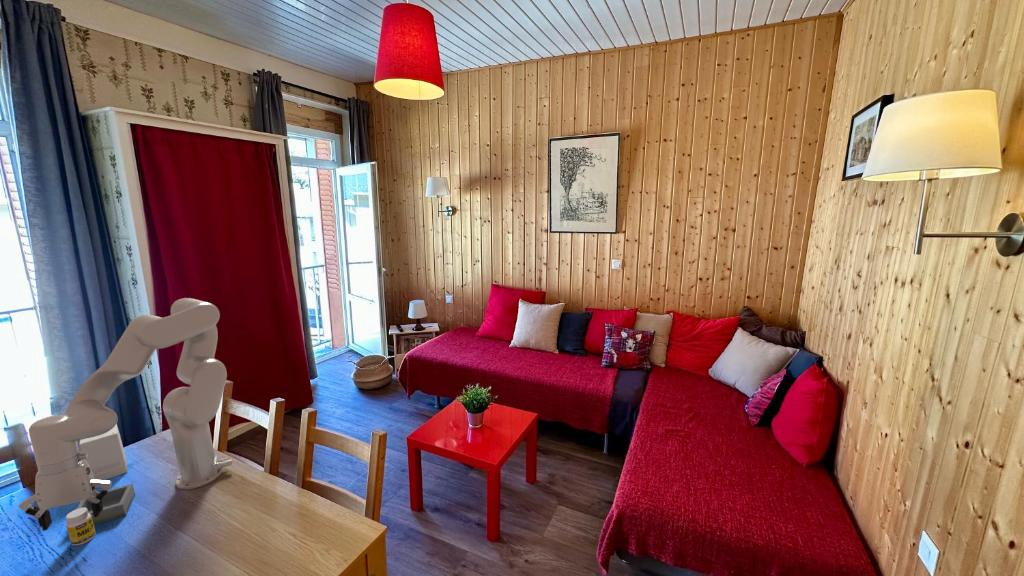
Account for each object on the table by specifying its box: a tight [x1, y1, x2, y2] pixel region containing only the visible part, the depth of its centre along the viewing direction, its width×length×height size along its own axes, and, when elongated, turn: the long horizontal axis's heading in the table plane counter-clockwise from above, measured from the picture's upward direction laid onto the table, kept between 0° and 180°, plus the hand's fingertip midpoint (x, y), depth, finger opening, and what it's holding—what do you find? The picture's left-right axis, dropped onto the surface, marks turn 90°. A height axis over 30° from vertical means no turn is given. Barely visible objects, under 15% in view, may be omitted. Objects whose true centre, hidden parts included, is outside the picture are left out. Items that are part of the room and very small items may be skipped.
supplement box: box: [78, 422, 128, 481], centre depth 137 cm, size 9×9×15 cm
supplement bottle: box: [65, 508, 97, 546], centre depth 111 cm, size 5×5×8 cm
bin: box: [76, 483, 136, 526], centre depth 121 cm, size 11×10×4 cm
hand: (73, 520), depth 110 cm, fingers open, 9 cm apart
